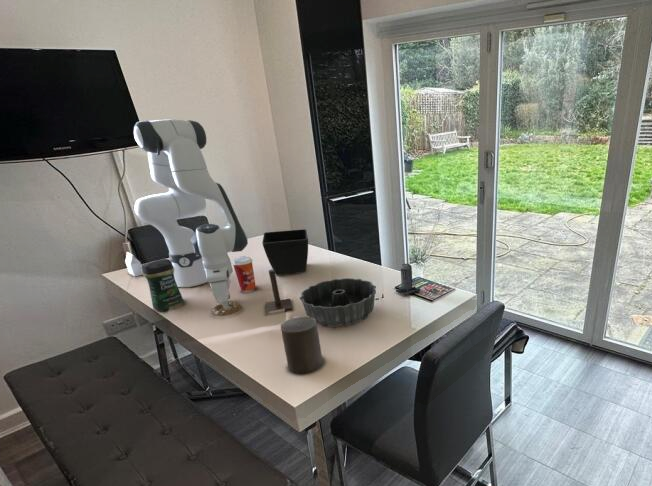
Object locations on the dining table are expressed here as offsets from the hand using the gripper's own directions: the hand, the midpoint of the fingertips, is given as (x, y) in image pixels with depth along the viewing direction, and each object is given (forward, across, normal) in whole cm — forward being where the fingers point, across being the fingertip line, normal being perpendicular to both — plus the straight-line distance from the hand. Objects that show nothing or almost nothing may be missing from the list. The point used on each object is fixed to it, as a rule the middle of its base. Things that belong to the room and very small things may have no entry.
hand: (227, 303), depth 155 cm
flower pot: (+2, -33, +25) cm, 42 cm away
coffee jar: (+2, -11, -21) cm, 24 cm away
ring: (+1, +4, 0) cm, 4 cm away
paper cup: (+2, -15, +7) cm, 17 cm away
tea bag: (+2, -58, -42) cm, 72 cm away
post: (+2, +8, +18) cm, 20 cm away
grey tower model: (+2, +15, +67) cm, 68 cm away
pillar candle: (+2, +52, +24) cm, 57 cm away
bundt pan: (+2, +25, +39) cm, 46 cm away
